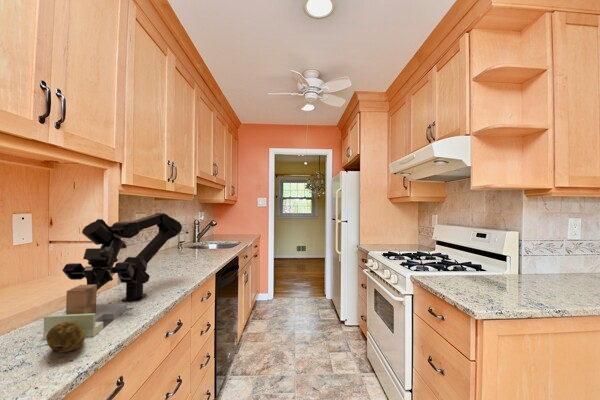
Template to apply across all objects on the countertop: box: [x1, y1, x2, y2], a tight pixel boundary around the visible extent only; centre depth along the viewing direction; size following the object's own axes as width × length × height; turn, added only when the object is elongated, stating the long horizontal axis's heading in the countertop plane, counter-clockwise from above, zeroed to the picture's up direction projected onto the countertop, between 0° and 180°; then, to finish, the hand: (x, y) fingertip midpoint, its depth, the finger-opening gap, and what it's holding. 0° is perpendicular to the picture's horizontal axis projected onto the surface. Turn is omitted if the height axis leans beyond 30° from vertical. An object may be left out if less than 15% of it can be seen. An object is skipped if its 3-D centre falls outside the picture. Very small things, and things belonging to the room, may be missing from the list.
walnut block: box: [65, 284, 98, 315], centre depth 80 cm, size 6×4×10 cm
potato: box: [45, 322, 86, 354], centre depth 68 cm, size 8×13×8 cm, turn 16°
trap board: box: [43, 302, 128, 341], centre depth 84 cm, size 20×12×6 cm, turn 9°
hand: (88, 295), depth 83 cm, fingers closed, pressing on walnut block
